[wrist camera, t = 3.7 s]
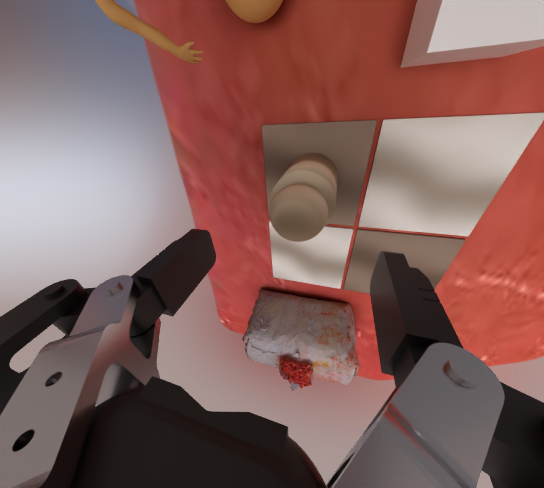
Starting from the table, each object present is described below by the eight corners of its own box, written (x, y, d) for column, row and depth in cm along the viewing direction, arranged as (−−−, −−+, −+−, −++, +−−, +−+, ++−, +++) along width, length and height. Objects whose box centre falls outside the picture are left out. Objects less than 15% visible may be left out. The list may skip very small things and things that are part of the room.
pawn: (286, 152, 16) (251, 187, 10) (341, 152, 15) (339, 191, 9) (287, 201, 19) (259, 253, 13) (333, 204, 18) (328, 263, 11)
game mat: (262, 125, 16) (261, 125, 16) (545, 112, 11) (548, 112, 11) (273, 276, 26) (273, 277, 26) (424, 302, 22) (424, 303, 21)
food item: (361, 298, 24) (369, 389, 17) (351, 333, 29) (354, 416, 21) (259, 282, 28) (228, 349, 20) (265, 314, 33) (241, 379, 25)
